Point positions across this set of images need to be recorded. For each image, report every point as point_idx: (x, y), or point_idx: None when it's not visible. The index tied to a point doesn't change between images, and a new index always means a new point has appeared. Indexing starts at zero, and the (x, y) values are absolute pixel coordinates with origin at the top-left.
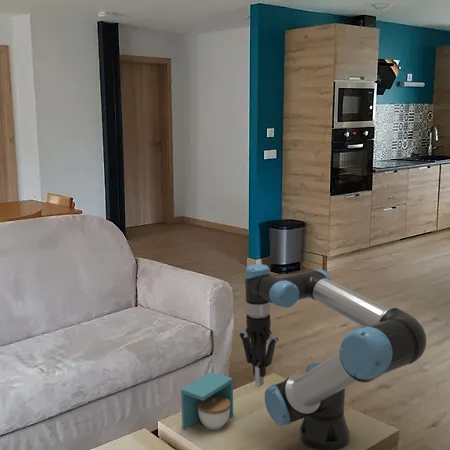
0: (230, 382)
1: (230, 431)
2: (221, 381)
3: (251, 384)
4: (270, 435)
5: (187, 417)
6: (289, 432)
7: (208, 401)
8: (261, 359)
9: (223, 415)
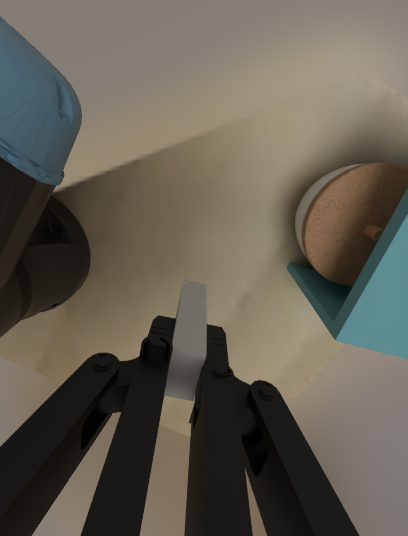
0: (337, 319)
1: (275, 192)
2: (383, 302)
3: None
4: (159, 209)
5: None
6: (117, 240)
7: None
8: (132, 409)
9: (312, 192)
